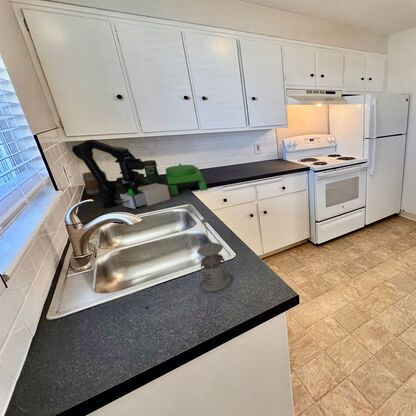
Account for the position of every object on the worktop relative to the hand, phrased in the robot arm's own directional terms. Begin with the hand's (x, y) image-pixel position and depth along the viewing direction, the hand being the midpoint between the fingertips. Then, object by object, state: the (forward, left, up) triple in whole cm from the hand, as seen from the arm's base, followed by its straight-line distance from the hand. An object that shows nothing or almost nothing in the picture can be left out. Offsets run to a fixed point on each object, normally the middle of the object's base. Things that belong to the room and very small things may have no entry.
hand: (133, 194), depth 167 cm
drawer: (-1, 0, -7) cm, 7 cm away
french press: (-32, -107, -8) cm, 112 cm away
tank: (+43, +9, -8) cm, 45 cm away
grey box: (+11, 0, -8) cm, 14 cm away
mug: (+5, +57, -8) cm, 58 cm away
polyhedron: (0, 0, -1) cm, 1 cm away
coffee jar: (+38, +44, -8) cm, 59 cm away
